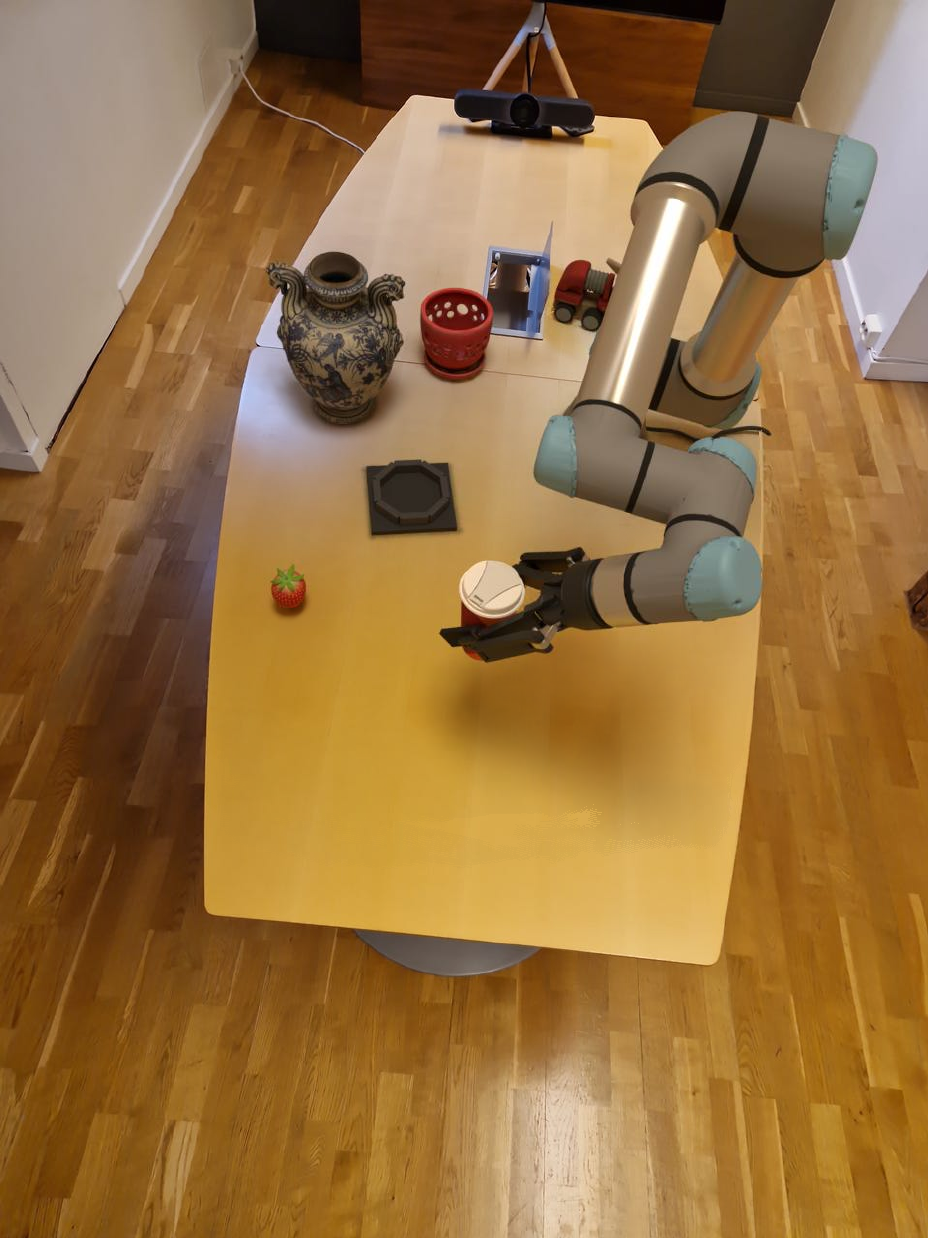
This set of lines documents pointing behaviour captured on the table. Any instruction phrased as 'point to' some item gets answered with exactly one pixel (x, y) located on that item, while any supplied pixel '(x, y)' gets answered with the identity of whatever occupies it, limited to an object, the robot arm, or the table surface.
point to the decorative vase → (338, 332)
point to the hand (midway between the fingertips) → (461, 611)
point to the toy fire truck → (584, 293)
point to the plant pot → (455, 332)
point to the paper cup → (489, 595)
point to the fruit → (288, 588)
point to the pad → (410, 498)
